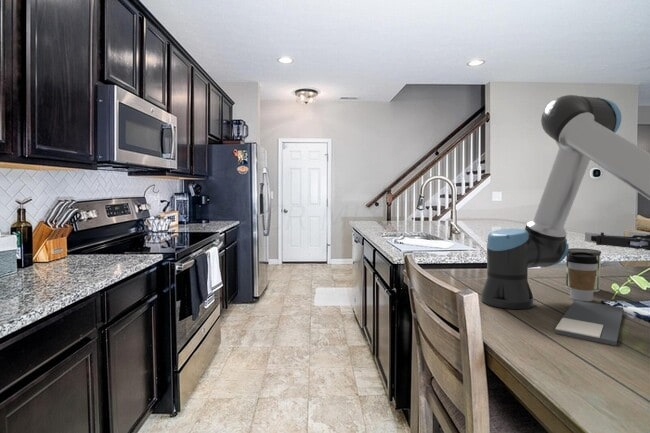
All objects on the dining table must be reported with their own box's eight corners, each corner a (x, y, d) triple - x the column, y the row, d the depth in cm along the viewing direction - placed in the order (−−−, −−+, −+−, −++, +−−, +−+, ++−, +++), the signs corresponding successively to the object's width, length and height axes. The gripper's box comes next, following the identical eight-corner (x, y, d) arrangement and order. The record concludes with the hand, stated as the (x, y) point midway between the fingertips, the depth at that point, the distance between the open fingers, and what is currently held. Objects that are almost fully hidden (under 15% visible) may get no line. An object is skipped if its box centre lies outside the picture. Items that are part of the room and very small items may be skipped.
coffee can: (559, 285, 137) (560, 248, 136) (588, 285, 136) (589, 248, 135) (575, 292, 127) (576, 252, 126) (607, 292, 126) (608, 252, 125)
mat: (616, 345, 83) (616, 340, 82) (554, 333, 91) (555, 328, 90) (623, 310, 106) (623, 306, 106) (574, 303, 114) (574, 299, 114)
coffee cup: (598, 298, 119) (600, 253, 118) (595, 304, 113) (596, 256, 112) (568, 293, 125) (569, 250, 124) (563, 299, 119) (564, 254, 118)
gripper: (632, 262, 86) (567, 249, 107) (729, 259, 88) (647, 247, 109) (633, 231, 86) (568, 224, 107) (731, 229, 87) (648, 222, 108)
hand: (607, 236), depth 108 cm, fingers open, 13 cm apart
